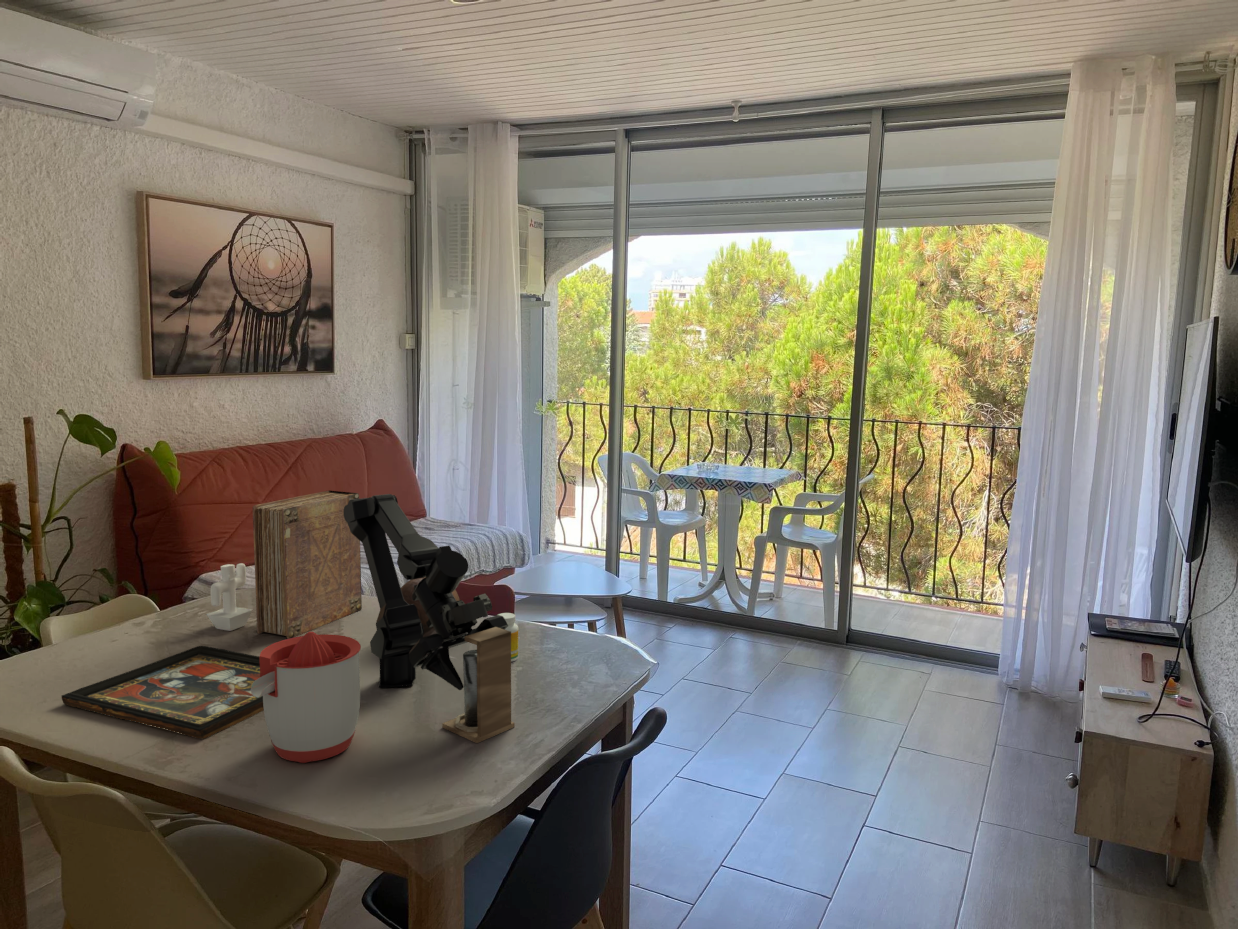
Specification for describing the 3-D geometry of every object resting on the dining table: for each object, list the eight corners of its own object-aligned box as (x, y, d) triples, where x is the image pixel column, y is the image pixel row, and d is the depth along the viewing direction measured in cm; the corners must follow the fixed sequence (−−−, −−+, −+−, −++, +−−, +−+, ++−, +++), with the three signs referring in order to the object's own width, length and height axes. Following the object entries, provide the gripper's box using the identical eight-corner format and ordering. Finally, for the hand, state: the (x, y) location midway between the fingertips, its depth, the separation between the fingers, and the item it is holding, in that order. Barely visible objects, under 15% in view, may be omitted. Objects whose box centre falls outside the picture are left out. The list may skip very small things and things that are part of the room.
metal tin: (459, 724, 152) (458, 656, 150) (473, 714, 156) (472, 648, 154) (481, 729, 150) (479, 660, 148) (494, 719, 154) (493, 651, 152)
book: (287, 639, 197) (282, 509, 193) (256, 634, 201) (251, 505, 197) (362, 609, 220) (359, 492, 216) (333, 605, 224) (329, 489, 220)
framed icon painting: (340, 672, 179) (340, 659, 179) (219, 747, 146) (218, 730, 145) (187, 653, 189) (186, 640, 189) (41, 718, 156) (40, 702, 155)
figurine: (202, 630, 202) (199, 567, 200) (234, 619, 211) (231, 558, 209) (226, 635, 200) (223, 571, 198) (257, 623, 208) (255, 562, 206)
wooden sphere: (428, 656, 187) (427, 589, 185) (379, 643, 195) (377, 578, 193) (474, 637, 200) (474, 574, 198) (426, 626, 208) (425, 564, 206)
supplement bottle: (492, 663, 184) (492, 619, 183) (493, 654, 189) (493, 612, 188) (518, 663, 185) (518, 619, 183) (518, 654, 190) (518, 611, 189)
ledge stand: (442, 727, 153) (441, 630, 150) (479, 712, 159) (479, 619, 157) (477, 743, 147) (476, 642, 145) (514, 727, 153) (514, 630, 151)
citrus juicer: (237, 750, 143) (231, 632, 141) (336, 719, 155) (333, 611, 153) (277, 784, 132) (272, 658, 130) (380, 749, 144) (378, 632, 142)
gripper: (417, 592, 145) (461, 672, 140) (501, 571, 159) (543, 643, 154) (390, 628, 151) (431, 706, 146) (473, 605, 166) (513, 675, 160)
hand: (482, 681), depth 151 cm, fingers open, 9 cm apart
